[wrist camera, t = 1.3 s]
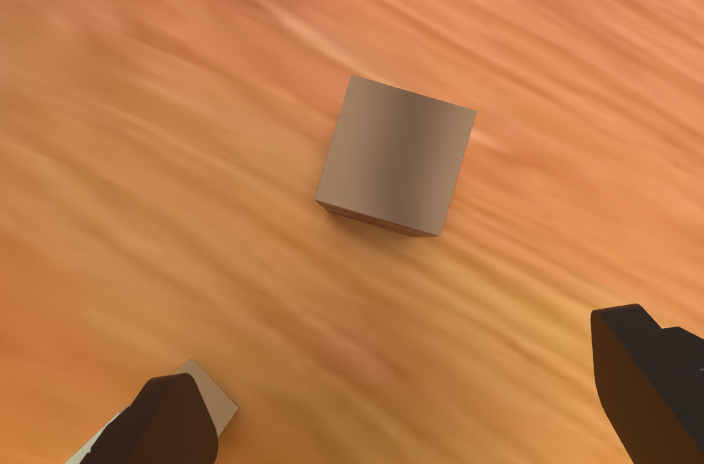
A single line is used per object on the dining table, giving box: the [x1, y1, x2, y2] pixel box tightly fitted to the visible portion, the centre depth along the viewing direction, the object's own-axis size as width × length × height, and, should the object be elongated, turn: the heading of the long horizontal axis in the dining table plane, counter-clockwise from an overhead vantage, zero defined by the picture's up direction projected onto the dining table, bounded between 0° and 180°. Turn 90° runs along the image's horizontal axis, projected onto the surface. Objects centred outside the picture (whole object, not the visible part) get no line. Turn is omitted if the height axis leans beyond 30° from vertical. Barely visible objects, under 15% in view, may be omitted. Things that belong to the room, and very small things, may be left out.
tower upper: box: [315, 75, 477, 237], centre depth 25 cm, size 6×6×5 cm
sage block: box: [65, 358, 238, 464], centre depth 27 cm, size 4×4×10 cm
